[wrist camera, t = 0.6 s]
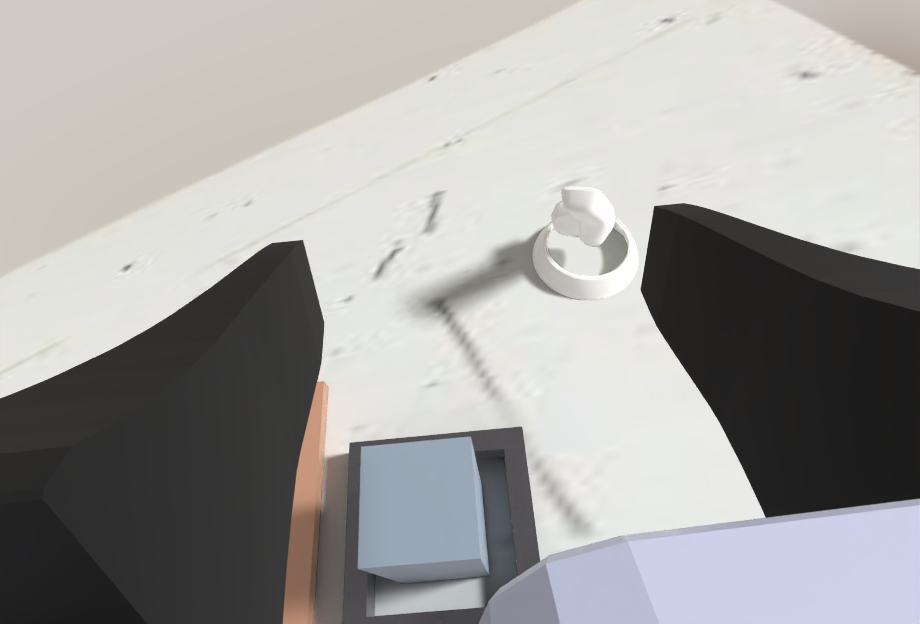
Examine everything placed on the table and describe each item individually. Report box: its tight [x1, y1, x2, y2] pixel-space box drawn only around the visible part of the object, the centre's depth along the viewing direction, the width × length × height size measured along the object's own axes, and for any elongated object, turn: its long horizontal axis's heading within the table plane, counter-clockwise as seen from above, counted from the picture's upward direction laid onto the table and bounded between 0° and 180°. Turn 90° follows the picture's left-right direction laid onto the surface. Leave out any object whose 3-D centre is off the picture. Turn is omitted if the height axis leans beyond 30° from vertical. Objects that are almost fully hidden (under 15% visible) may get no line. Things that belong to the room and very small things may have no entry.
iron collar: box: [343, 427, 540, 624], centre depth 24 cm, size 8×8×2 cm
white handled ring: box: [532, 186, 639, 300], centre depth 29 cm, size 6×10×6 cm
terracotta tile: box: [283, 381, 328, 624], centre depth 25 cm, size 16×7×1 cm, turn 4°
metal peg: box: [358, 436, 490, 583], centre depth 21 cm, size 4×4×8 cm
